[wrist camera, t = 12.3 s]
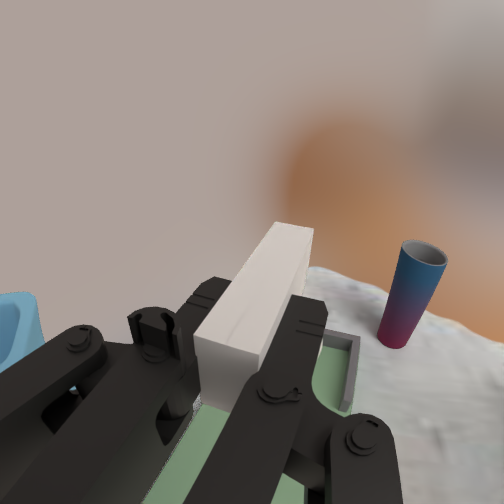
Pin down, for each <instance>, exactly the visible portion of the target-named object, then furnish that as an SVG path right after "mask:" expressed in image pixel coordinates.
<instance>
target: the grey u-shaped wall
mask: <svg viewBox="0 0 504 504" xmlns="http://www.w3.org/2000/svg"><path fill="white" fill-rule="evenodd" d="M322 346H326V347H330V348H335V349H339V350H343V351H348V358H347V364H346V371H345V377H344V382H343V388H342V393H341V399H340V404H339V409H338V411H341V412H347V411H348V409H349V407H350V405H351V403H352V399H353V393H354V386H355V379H356V372H357V364H358V355H359V347H360V337H359V336H355V335H350V334H346V333H341V332H337V331H333V330H328V329H325V330H324V334H323V345H322Z"/></svg>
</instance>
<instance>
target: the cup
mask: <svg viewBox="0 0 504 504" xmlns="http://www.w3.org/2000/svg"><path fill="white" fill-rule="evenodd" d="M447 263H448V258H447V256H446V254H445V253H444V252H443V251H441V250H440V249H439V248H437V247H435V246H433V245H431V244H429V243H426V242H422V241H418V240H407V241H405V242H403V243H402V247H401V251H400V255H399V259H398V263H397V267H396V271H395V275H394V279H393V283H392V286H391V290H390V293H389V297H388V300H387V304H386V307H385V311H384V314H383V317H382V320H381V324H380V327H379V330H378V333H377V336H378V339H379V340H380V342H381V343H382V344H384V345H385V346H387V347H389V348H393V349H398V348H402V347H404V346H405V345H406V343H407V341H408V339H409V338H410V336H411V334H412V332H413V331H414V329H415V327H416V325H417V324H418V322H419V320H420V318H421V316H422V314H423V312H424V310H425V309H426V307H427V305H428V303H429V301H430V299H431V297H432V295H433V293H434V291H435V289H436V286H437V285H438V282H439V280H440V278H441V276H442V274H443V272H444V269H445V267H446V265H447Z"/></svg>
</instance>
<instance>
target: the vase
mask: <svg viewBox="0 0 504 504" xmlns="http://www.w3.org/2000/svg"><path fill="white" fill-rule="evenodd" d="M44 344H45V341H44V337H43V334H42V330H41V325H40V320H39V314H38V308H37V302H36V298H35V296H34V295H32V294H30V293H29V292H14V293H6V294H0V373H1V372H2V371H4V370H5V369H7V368H8V367H10V366H11V365H13V364H14V363H16V362H18V361H19V360H21V359H22V358H24V357H25V356H27V355H28V354H30V353H31V352H33V351H34V350H36V349H37V348H39V347H40V346H42V345H44ZM75 389H76V387H75V386H74V387H72V388H71V389H70V390H75Z"/></svg>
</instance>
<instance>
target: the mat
mask: <svg viewBox="0 0 504 504" xmlns="http://www.w3.org/2000/svg"><path fill="white" fill-rule="evenodd" d="M359 350H360V347H359ZM347 358H348V351H343V350H339V349H335V348H330V347H326V346H322V350H321V353H320V355H319V357H318V359H317V362H316V365H315V369H314V373H313V376H312V389H313V392H314V394H315V396H316V398H317V399H318V400H319V401H320V402H321V403H322V404H323V405H324V406H326V407H327V408H328V409H330V410H332V411H334V412H335V413H337V414H339V415H341V416H343V417H346V416H348V415H351V409H352V403H353V399H352V403H351V405H350V407H349V409H348V411H347V412H341V411H338V409H339V404H340V399H341V393H342V388H343V382H344V377H345V371H346V364H347ZM358 359H359V355H358ZM357 367H358V364H357ZM356 375H357V372H356ZM355 382H356V379H355ZM354 389H355V386H354ZM353 396H354V393H353ZM229 415H230V413H229V412H226V411H223V410H220V409H217V408H214V407H211V406H209V405H206V404H202V406H201V407H200V409H199V411H198V412H197V414H196V416H195V418H194V419H193V421H192V423H191V424H190V426H189V428H188V429H187V431H186V433H185V434H184V436H183V438H182V439H181V441H180V443H179V444H178V446H177V448H176V449H175V451H174V453H173V454H172V456H171V458H170V459H169V461H168V463H167V464H166V466H165V467H164V469H163V471H162V472H161V474H160V476H159V477H158V479H157V480H156V482H155V484H154V485H153V487H152V488H151V490H150V492H149V493H148V495H147V496H146V498H145V500H144V501H143V503H142V504H182V503H183V502H184V500H185V498H186V496H187V495H188V493H189V491H190V489H191V487H192V486H193V484H194V482H195V480H196V478H197V476H198V475H199V473H200V471H201V469H202V467H203V465H204V463H205V461H206V460H207V458H208V456H209V454H210V452H211V450H212V448H213V446H214V444H215V443H216V441H217V439H218V437H219V435H220V433H221V431H222V429H223V427H224V425H225V423H226V421H227V419H228V417H229ZM271 504H304V485H302V484H300V483H298V482H297V481H295V480H293V479H292V478H290V477H288V476H287V475H285V474H284V473H282V475H281V478H280V481H279V484H278V486H277V489H276V492H275V494H274V497H273V499H272V502H271Z"/></svg>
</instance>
